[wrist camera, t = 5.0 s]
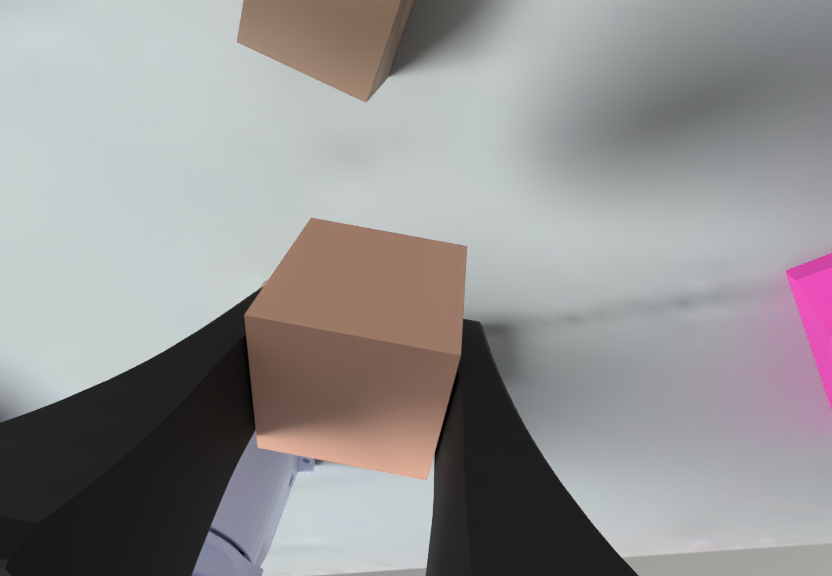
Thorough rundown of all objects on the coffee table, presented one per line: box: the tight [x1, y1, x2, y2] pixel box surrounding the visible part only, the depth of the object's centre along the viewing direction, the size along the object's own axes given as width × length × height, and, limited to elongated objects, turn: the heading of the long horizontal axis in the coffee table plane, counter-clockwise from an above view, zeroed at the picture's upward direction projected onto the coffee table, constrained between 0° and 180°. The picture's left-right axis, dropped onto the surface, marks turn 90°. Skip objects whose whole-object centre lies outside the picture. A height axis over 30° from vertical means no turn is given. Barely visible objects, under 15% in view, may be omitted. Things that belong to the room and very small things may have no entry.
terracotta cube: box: [244, 218, 467, 480], centre depth 11 cm, size 4×4×4 cm
